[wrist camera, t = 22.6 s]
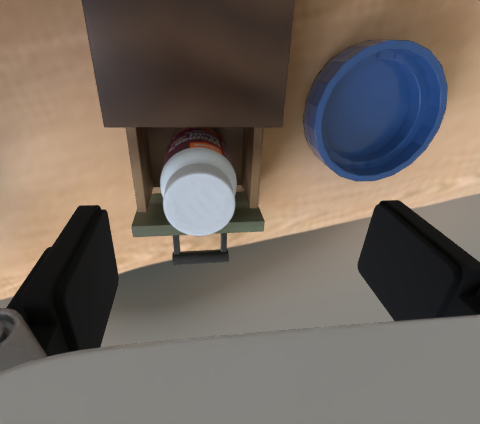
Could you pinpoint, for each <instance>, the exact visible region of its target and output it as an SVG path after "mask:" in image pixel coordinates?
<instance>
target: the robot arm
mask: <svg viewBox="0 0 480 424" xmlns="http://www.w3.org/2000/svg"><path fill="white" fill-rule="evenodd" d="M358 270H359V272H360V274H361V275H362V277H363V278H364V279H365V281H366V282H367V284H368V285H369V286H370V288H371V289H372V291H373V292H374V293H375V295H376V296H377V297H378V299H379V300H380V301H381V303H382V304H383V306H384V307H385V308H386V310H387V311H388V312H389V314H390V315H391V317H392V318H393V319H394V321H391V322H378V323H364V324H352V325H340V326H328V327H315V328H304V329H291V330H279V331H268V332H257V333H245V334H234V335H222V336H212V337H200V338H188V339H177V340H166V341H155V342H144V343H133V344H126V345H117V346H109V347H102V348H100V346H101V343H102V339H103V336H104V332H105V329H106V325H107V321H108V318H109V315H110V311H111V308H112V304H113V301H114V297H115V293H116V290H117V286H118V271H117V265H116V259H115V253H114V248H113V242H112V236H111V230H110V225H109V219H108V213H107V211H106V210H101V208H100V206H99V205H90V206H79V207H78V208H77V209H76V211H75V212H74V214H73V215H72V217H71V218H70V220H69V222H68V223H67V225H66V226H65V228H64V229H63V231H62V232H61V234H60V235H59V237H58V238H57V240H56V241H55V243H54V244H53V246H52V247H49V248H47V249H46V250H45V251H44V253H43V254H42V256H41V257H40V259H39V260H38V262H37V263H36V265H35V266H34V268H33V269H32V271H31V272H30V274H29V275H28V277H27V278H26V280H25V281H24V282H23V284H22V285H21V287H20V288H19V290H18V291H17V293H16V294H15V296H14V297H13V299H12V300H11V302H10V303H9V305H8V306H7V308H0V424H480V262H479V261H477V260H476V259H475V258H473V257H472V256H471V255H469V254H468V253H467V252H466V251H464V250H463V249H462V248H460V247H459V246H458V245H457V244H455V243H454V242H453V241H451V240H450V239H449V238H447V237H446V236H445V235H443V234H442V233H441V232H440V231H438V230H437V229H435V228H434V227H433V226H432V225H431V224H429V223H428V222H427V221H425V220H424V219H423V218H421V217H420V216H419V215H418V214H416V213H415V212H414V211H412V210H411V209H410V208H408V207H407V206H406V205H405V204H403V203H402V202H401V201H399V200H391V201H381V202H380V203H379V205H376V207H375V208H374V212H373V215H372V218H371V221H370V225H369V228H368V232H367V235H366V238H365V241H364V245H363V248H362V251H361V254H360V258H359V261H358Z"/></svg>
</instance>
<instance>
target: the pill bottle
mask: <svg viewBox="0 0 480 424" xmlns="http://www.w3.org/2000/svg"><path fill="white" fill-rule="evenodd" d="M160 188H161V193H162V196H163V209H164V213H165V215H166V218H167V219H168V221H169V222H170V224H171V225H172V226H173V227H175V228H176V229H177V230H179V231H181V232H183V233H185V234H188V235H193V236H205V235H210V234H213V233H215V232H217V231H219V230H221V229H222V228H223V227H225V226H226V225H227V224H228V222H229V221H230V220H231V218H232V216H233V214H234V211H235V194H236V189H237V180H236V174H235V170H234V168H233V165H232V162H231V159H230V155H229V152H228V149H227V146H226V144H225V142H224V140H223V139H222V137H221V136H220V135H219V134H218V133H217V132H216V131H214V130H212V129H211V128H208V127H185V128H183V129H181V130H180V131H178V132H177V133H176V134H175V135H174V136H173V137H172V139H171V140H170V142H169V145H168V148H167V151H166V156H165V160H164V165H163V169H162V173H161V177H160Z"/></svg>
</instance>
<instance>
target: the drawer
mask: <svg viewBox="0 0 480 424" xmlns="http://www.w3.org/2000/svg"><path fill="white" fill-rule="evenodd" d="M183 128H185V127H126V133H127V140H128V147H129V154H130V161H131V168H132V175H133V182H134V189H135V196H136V203H137V211H136V214H135V217H134V220H133V223H132V233H133V237H149V236H170V235H173V244H174V252H173V265H181V264H182V265H183V264H201V263H216V262H228V261H229V255H228V249H227V233H236V232H258V231H264V219H263V216H262V214H261V211H260V209H259V206H258V197H259V183H260V168H261V154H262V139H263V127H208V128H211V129H212V130H214V131H216V132H217V133H218V134H219V135H220V136H221V137H222V139H223V140H224V142H225V144H226V146H227V149H228V152H229V155H230V159H231V162H232V165H233V168H234V170H235V174H236V180H237V185H242V187H243V190H244V192H236V194H235V211H234V214H233V216H232V218H231V220H230V221H229V222H228V224H227V225H226V226H225V227H223V228H222V229H221V230H219V231H217V232H215V233H221V250H203V251H184V252H180V241H179V235H188V234H185V233H183V232H181V231H179V230H177V229H176V228H175V227H173V226H172V225H171V224H170V222H169V221H168V219H167V218H166V215H165V213H164V209H163V196H162V194H152V190H153V187H160V177H161V173H162V169H163V165H164V160H165V156H166V151H167V148H168V145H169V142H170V140H171V139H172V137H173V136H174V135H175V134H176V133H177V132H178V131H180V130H181V129H183ZM213 234H214V233H213Z"/></svg>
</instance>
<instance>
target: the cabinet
mask: <svg viewBox="0 0 480 424" xmlns="http://www.w3.org/2000/svg"><path fill="white" fill-rule="evenodd" d="M294 2H295V0H82V5H83V11H84V16H85V22H86V28H87V33H88V39H89V45H90V50H91V56H92V61H93V67H94V73H95V78H96V84H97V90H98V95H99V101H100V107H101V112H102V118H103V123H104V127H282V124H283V114H284V104H285V94H286V83H287V73H288V63H289V53H290V43H291V32H292V22H293V12H294Z"/></svg>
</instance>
